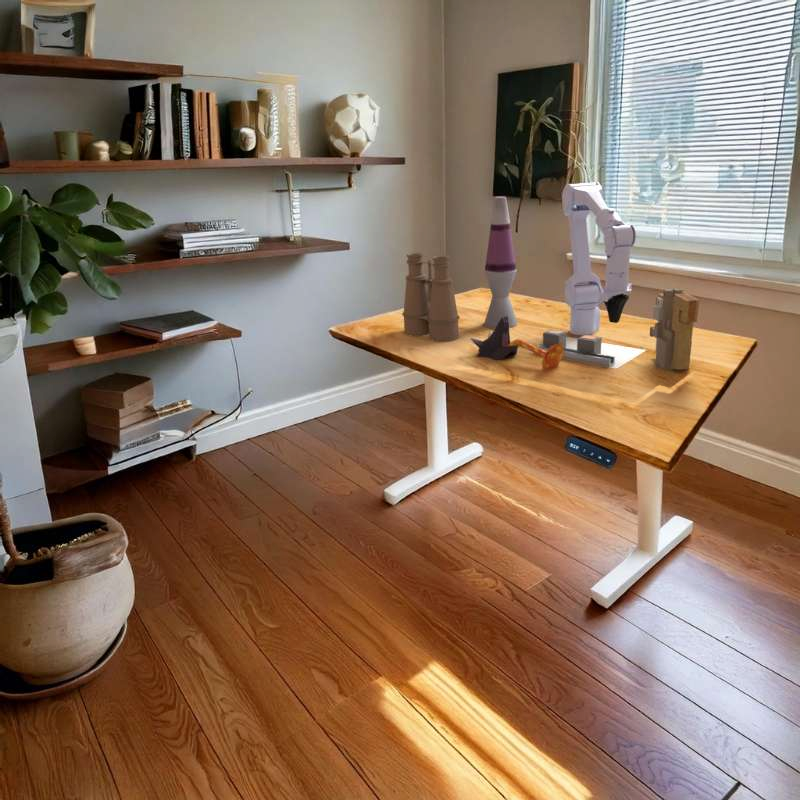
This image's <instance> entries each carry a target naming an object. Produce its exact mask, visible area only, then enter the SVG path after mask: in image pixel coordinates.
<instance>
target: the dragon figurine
mask: <svg viewBox="0 0 800 800" xmlns="http://www.w3.org/2000/svg"><path fill="white" fill-rule="evenodd" d="M510 336H511V335H510V328H509V322H508V316H505V317H502V318H501V319H500V321H499V323H498V325H497V326H496V328H495V329H494V328H493V331H492V333H491V331H489V332H488V335H487V338H486V339H484V340H480V339H476V338H470V341H472V343H473V344H474V345H476V346H477V347H478V354H477V356H476V358H489V359H491V360H494V361H500V360H502V359H503V358H504V357H506V356H507V355H517V353H518V349H519V347H520V348H522V349H525V350H526V351H528V352H530V351H531V352H533V353H532V354H536V355H537V356H539V357H542V361H541V367H542V371H543V372H544V371H545V369H548V368H550V367H553V366H558V365H560V362H561V360H562V357H563V355H564V349H563V343H562V342H561V343H558V344H555V345H553V346H551V347H550V348H549V350H548V351H545V350H543V349H541V348H538V347H536V346H537V345H534V344H531V343H530V342H527V341H525V340H522V339H521V338H517V339H514V340H513V341H511V338H510ZM531 352H530V353H531Z"/></svg>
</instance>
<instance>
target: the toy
mask: <svg viewBox="0 0 800 800" xmlns="http://www.w3.org/2000/svg"><path fill="white" fill-rule="evenodd" d="M683 291H684V290H683V289H682V288H672V289H671V288H666V289H663V291H662V292H663V293H658V295H657V297H656V296H655V305H653V311H652V318H653V319H655V320H657V322H656V323H654V326H650V327H649V337H652V338H656V339H655V350H654V352H655V353H656V354H655V358H650V360H651V361H652V362H653V363H654V364H656V365H657V366H658V367H659V368H661V369H662V370H663V371H664V370H665V371H666V370H667V371H668V370H688V369H690V363H691V362H690V361H691V353H692V343H693V341H692V340H693V331H694V330H693V329H694V323H698V315H699V307H700V300H699V299H698V298H696V297H694V296H693V295H690V294H689V293H687V292H686V293H684V292H683Z"/></svg>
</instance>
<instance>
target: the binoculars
mask: <svg viewBox="0 0 800 800" xmlns="http://www.w3.org/2000/svg"><path fill="white" fill-rule="evenodd" d="M423 256H424V252H408V253H406V257H407V260H406V262H405V263H406V264H407V265H408V267H407V268H408V275H406V276H405V281H406V282H405V290H404V291H405V294H404V305H403V312H401V313H402V315H401V316H402V317H403V325H404V335H406V334H407V335H406V336H409V335H411V336H410V337H424V336H423V335H425V336H428V339H429V340H430V341H432V340H433V342H437V341H438V342H437V343H447V341H448V342H452V341H456V340H458V339H460V338H459V337H460V334H459V320H460V316H459V314H458V309H457V304H456V302H457V301H456V296H455V291H454V285H453V283H454V280H453V278H452V277H450V266H451V265H452V264H451V263H452V262H449V261H450V258H451V255H447V254H445V255H444V254H439V255H434V256H432V260H431V259H428V260H425V259H423V258H424V257H423ZM423 264H427V268H428V269H427V271H428V276H427V275H426V274H425V273H424V265H423ZM432 267H433V270H434V271H433V272H434V273H433V274H434V275H433V276H434V277H433V276H432ZM428 334H429V335H428Z"/></svg>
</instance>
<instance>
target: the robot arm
mask: <svg viewBox="0 0 800 800" xmlns="http://www.w3.org/2000/svg"><path fill="white" fill-rule="evenodd" d="M561 200H562V211H563V215H564V216H565V217H567V218H568V224H569V225H568V227H569V237H570V245H571V247H570V248H571V257H572V268H573V274H572V275H571V276H570V277H569V278H568V279H567V280H566V282H565V285H564V286H565V291H564V300H565V303H566V305H567V306H568V307H570V314H569V315H570V317H569V319H570V321H569V333H570V334H572V335H574V336H575V335H576V336H583V335H589V336H591V335H593V334H594V333H595V332H597V331H598V330H600V327H601V326H600V325H601V309H600V308H599V304H601V302H603V303H604V306H605V308H606V310H607V311H606V312H607V315H608V321H609V323H613V324H617V323H619V322H620V320H621V316H622V314H623V309H624V307H625V305H626V303H627V301H628V300H629V299H630V296H629V294H630V293H633V292H632V291H633V289H632V288H633V287H632V286H633V283H630V282H629V273H630V259H631V256H630V255H631V247H633V246H634V245H635V243H636V237H637V233H636V228H635V227H634V225H633V223H628V222H626V223H625V222H624V221H623V220H622V218H621V217H620V215H619V214H618V213H617V211H616V210H615V208H612V207H608V206H607V204H606V202H605V200H604V199H603V188H602V185H601V184H600V182H599V181H593V182H583V183H572V184H571V183H566V185H565V186H564V188H563V190H562V194H561ZM590 214H593V215H594V216H595V225H596V226H597V227H598V229H599V230H600V232H601V233H602V235H603V243H604V252H605V255H606V267H605V268H606V269H605V283H604V285H605V286H604V288H603V287H602V284H601V279H600V277H598V276H597V275H596V274H595V273H593V271H592V266H591V256H590V255H591V254H590V245H589V244H590V243H589V235H588V234H589V233H588V223H587V218H588V216H589V215H590Z"/></svg>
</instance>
